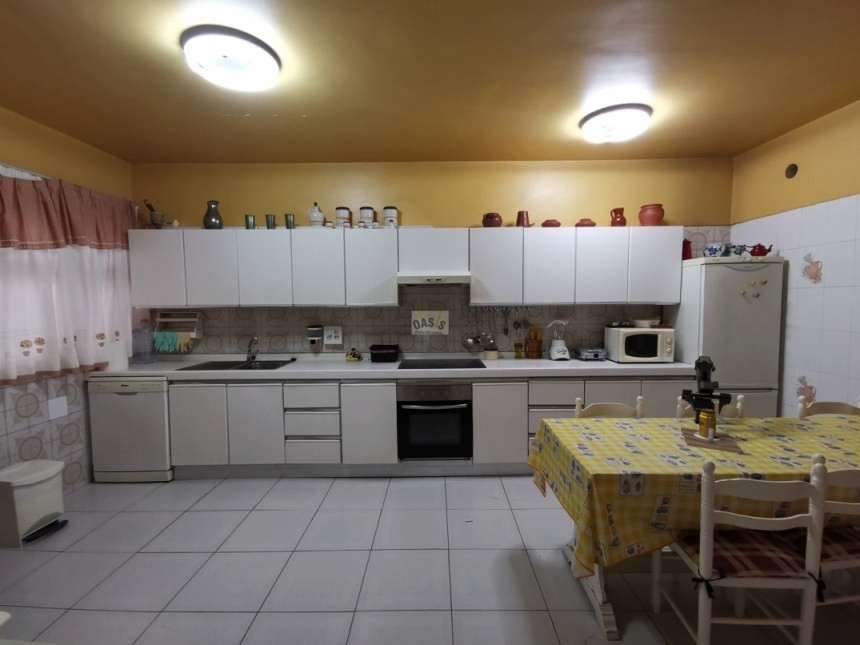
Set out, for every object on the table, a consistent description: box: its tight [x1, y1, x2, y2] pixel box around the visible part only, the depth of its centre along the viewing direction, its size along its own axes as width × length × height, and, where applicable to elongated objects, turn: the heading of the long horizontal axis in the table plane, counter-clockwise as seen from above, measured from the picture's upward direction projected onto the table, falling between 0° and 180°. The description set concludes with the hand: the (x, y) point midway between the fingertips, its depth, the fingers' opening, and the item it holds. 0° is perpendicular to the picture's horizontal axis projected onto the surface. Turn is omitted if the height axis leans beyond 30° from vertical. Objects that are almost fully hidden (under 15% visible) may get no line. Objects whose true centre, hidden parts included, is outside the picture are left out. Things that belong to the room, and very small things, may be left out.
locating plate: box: [680, 427, 741, 454], centre depth 167 cm, size 22×18×7 cm
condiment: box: [696, 409, 725, 439], centre depth 168 cm, size 7×8×12 cm
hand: (707, 412), depth 171 cm, fingers open, 9 cm apart
